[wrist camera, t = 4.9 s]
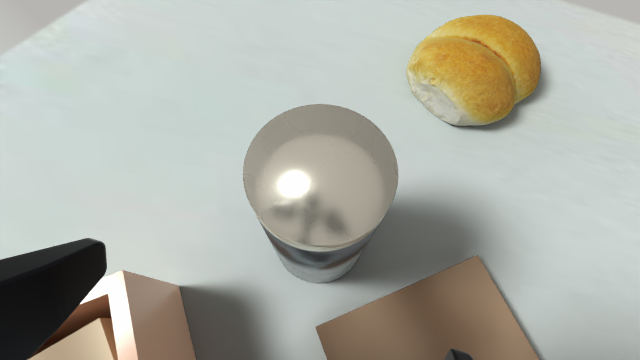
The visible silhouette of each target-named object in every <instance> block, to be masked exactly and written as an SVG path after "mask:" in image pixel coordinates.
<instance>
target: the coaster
mask: <svg viewBox="0 0 640 360" xmlns="http://www.w3.org/2000/svg"><path fill="white" fill-rule="evenodd" d="M316 330H317V333H318V335H319V338H320V341H321V344H322V346H323V349H324V352H325V354H326V357H327V360H444V359H445V357H446V355H447V353H448V351H449V350H450V349H457V350H460V351H463V352H467V353H468V354H470V355H471V357H472V358H473V359H474V360H539V359H538V357H537V355H536V353H535V352H534V350H533V348H532V347H531V345H530V343H529V341H528V340H527V338H526V336H525V335H524V333H523V331H522V330H521V328H520V326H519V324H518V323H517V321H516V319H515V318H514V316H513V314H512V313H511V311H510V309H509V307H508V306H507V304H506V302H505V301H504V299H503V297H502V296H501V294H500V292H499V290H498V289H497V287H496V285H495V284H494V282H493V280H492V278H491V277H490V275H489V273H488V272H487V270H486V268H485V267H484V265H483V263H482V261H481V260H480V258H479V256H478V255H477V256H475V257H473V258H470V259H468V260H466V261H464V262H461V263H459V264H457V265H455V266H452V267H450V268H448V269H446V270H443V271H441V272H439V273H437V274H434V275H432V276H430V277H427V278H425V279H423V280H421V281H418V282H416V283H414V284H412V285H409V286H407V287H405V288H403V289H400V290H398V291H396V292H394V293H391V294H389V295H387V296H385V297H382V298H380V299H378V300H375V301H373V302H371V303H369V304H366V305H364V306H362V307H360V308H357V309H355V310H353V311H351V312H348V313H346V314H344V315H342V316H339V317H337V318H335V319H333V320H330V321H328V322H326V323H323V324H321V325H319V326H317V327H316Z"/></svg>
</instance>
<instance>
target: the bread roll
mask: <svg viewBox="0 0 640 360" xmlns="http://www.w3.org/2000/svg"><path fill="white" fill-rule="evenodd" d="M540 71H541V61H540V55H539V52H538V49H537V47H536V46H535V44H534V42H533V40H532V38H531V37H530V36H529V35H528V34H527V32H526V31H525V30H523V29H522V28H521V27H520V26H518V25H517V24H515V23H514V22H512V21H510V20H507V19H505V18H503V17H499V16H494V15H475V16H467V17H461V18H457V19H454V20H452V21H449V22H447V23H445V24H444V25H443V26H441V27H439V28H437V29H436V30H435V31H433V32H432V33H431V34H430V35H429V36H427V37H426V38H425V39H424V40H423V41H422V42H421V43H419V44H418V45H417V47H416V49H415V51H414V52H413V54H412V56H411V57H410V60H409V62H408V66H407V78H408V82H409V85H410V88H411V91H412V94H413V95H414V96H415V97H416V98H417V99H418V100H419V101H421V102H422V103H423V105H424V106H425V107H426V108H427V109H428V110H429V111H430V112H432V113H433V114H434V115H436V116H437V117H439V118H440V119H442V120H443V121H445V122H447V123H449V124H452V125H457V126H467V125H486V124H490V123H493V122H496V121H498V120H500V119H503V118H504V117H505V116H507V115H508V114H509V113H510V111H511V110H512V108H513V106H514V105H515V104H516V103H518V102H520V101H522V100H523V99H525V98H526V97H528V96H529V95H530V94H531V93H532V92H533V91H534V90H535V88H536V86H537V84H538V81H539V78H540Z"/></svg>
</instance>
